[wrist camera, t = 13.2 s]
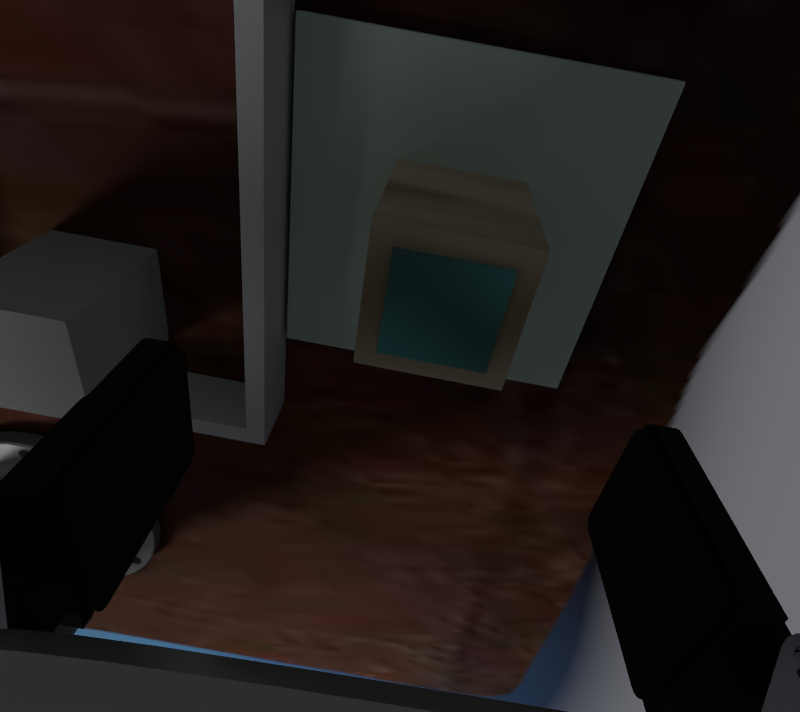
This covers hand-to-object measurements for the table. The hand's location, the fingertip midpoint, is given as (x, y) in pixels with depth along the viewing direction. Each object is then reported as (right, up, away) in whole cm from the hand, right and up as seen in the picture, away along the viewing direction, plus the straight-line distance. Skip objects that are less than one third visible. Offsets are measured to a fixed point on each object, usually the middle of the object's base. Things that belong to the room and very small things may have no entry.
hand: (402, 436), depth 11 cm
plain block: (-13, +5, +12) cm, 18 cm away
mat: (+2, +7, +9) cm, 11 cm away
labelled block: (+2, +6, +8) cm, 10 cm away
